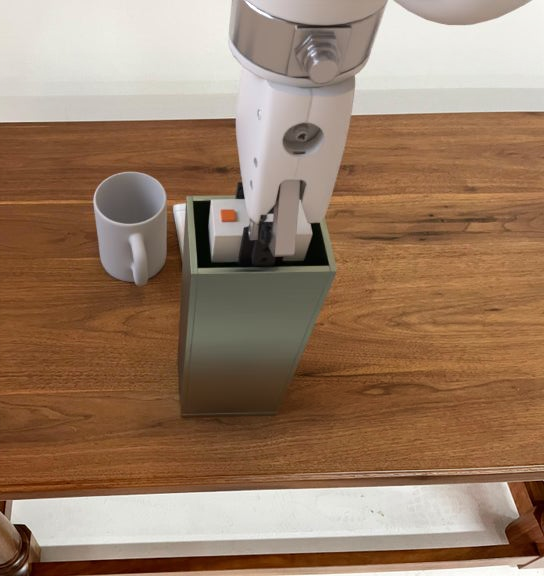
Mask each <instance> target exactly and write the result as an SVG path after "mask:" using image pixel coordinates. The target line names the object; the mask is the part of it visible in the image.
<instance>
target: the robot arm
mask: <svg viewBox="0 0 544 576" xmlns="http://www.w3.org/2000/svg"><path fill="white" fill-rule="evenodd" d="M532 1H533V0H393V2H395V3H396V4H397V5H399V6H400V7H402V8H403V9H405V10H406V11H407V12H409V13H411V14H413V15H415V16H417V17H419V18H422V19H424V20H425V21H429V22H433V23H437V24H441V25H447V26H472V25H477V24H481V23H485V22H489V21H492V20H497V19H499V18H501V17H503V16H505V15H507V14H509V13H511V12H514V11H516V10H518V9H520V8H522V7H523V6H525V5H527V4H529V3H530V2H532ZM388 2H389V0H231V7H230V15H229V24H228V25H229V26H228V35H227V43H228V48H229V51H230V53H231V55H232V56H233V58H234V59H235V60H236V62H237V63H238V64H239V65H240V66H241V67H240V74H239V81H238V87H237V98H236V108H235V135H236V146H237V153H238V161H239V168H240V171H239V173H240V181H237V184H236V185H237V186H236V190H235V191H236V192H235V195H236V198H235V199H245V203H246V209H247V213H248V216H249V217H250V221H249V226H247V227H244V229H243V235H242V240H241V246H240V251H239V257H238V262H239V266H241V267H275V266H280V265H281V264H282V262H283V258H284V257H288V256H294V253H295V243H296V232H297V220H298V209H299V200H301V203H302V207H303V210H304V213H305V217H306V220H307V223H319V222H321V221H322V220H323V218H324V217H325V218H326V215H327V212H328V209H329V208H330V207H329V206H330V203H331V200H332V196H333V193H334V189H335V185H336V183H337V178H338V175H339V171H340V167H341V163H342V159H343V156H344V153H345V148H346V143H347V138H348V134H349V130H350V124H351V118H352V112H353V106H354V100H355V92H356V75H357V74H359V73H360V72H361V71H362V70H363V69H364V67H365V66H366V65H367V64H368V62H369V60H370V57H371V53H372V50H373V48H374V44H375V42H376V38H377V35H378V32H379V29H380V26H381V23H382V20H383V18H384V14H385V11H386V8H387V5H388ZM266 214H274V216H273V222H261V220H263V215H266Z"/></svg>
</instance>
